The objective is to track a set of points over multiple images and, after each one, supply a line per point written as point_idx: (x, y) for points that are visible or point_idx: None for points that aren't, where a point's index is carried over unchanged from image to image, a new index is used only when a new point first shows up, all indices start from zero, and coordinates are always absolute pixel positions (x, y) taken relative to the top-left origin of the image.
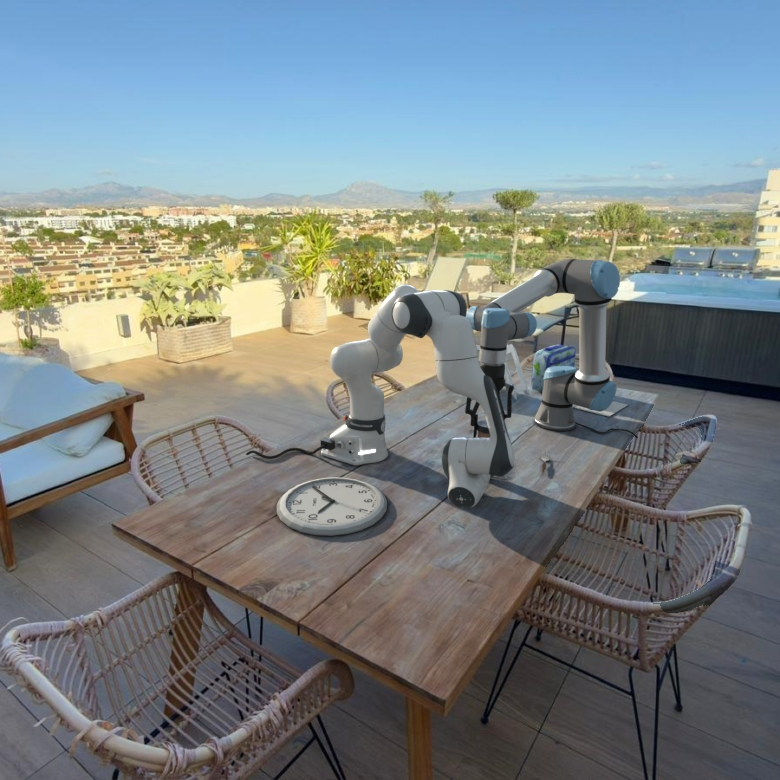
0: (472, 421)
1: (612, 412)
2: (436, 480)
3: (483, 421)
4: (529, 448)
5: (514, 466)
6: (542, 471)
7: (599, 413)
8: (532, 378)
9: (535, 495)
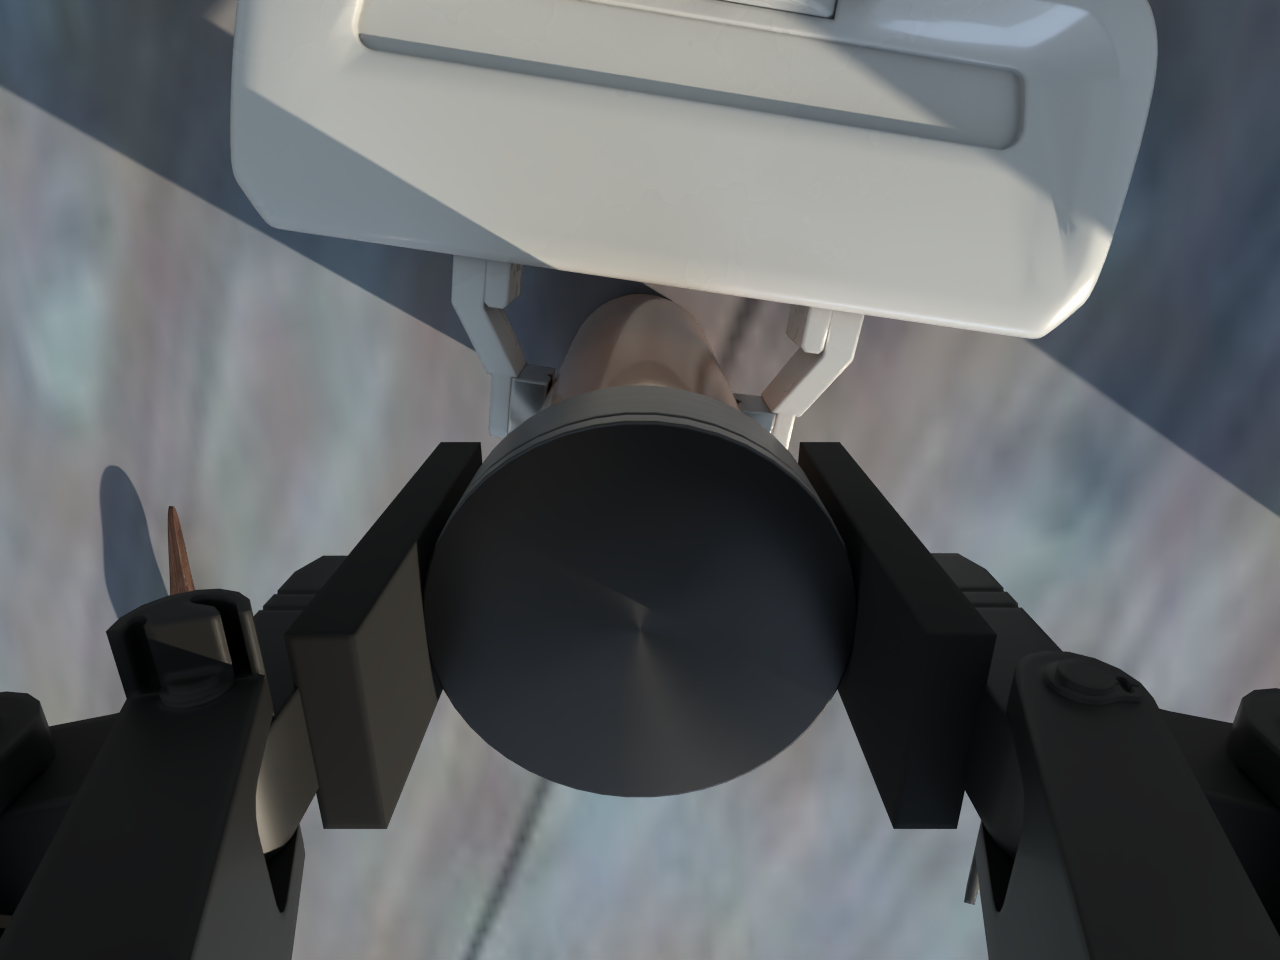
0: (978, 605)
1: None
2: None
3: (725, 726)
4: (353, 888)
5: (233, 77)
6: (176, 537)
7: None
8: None
9: (161, 112)
